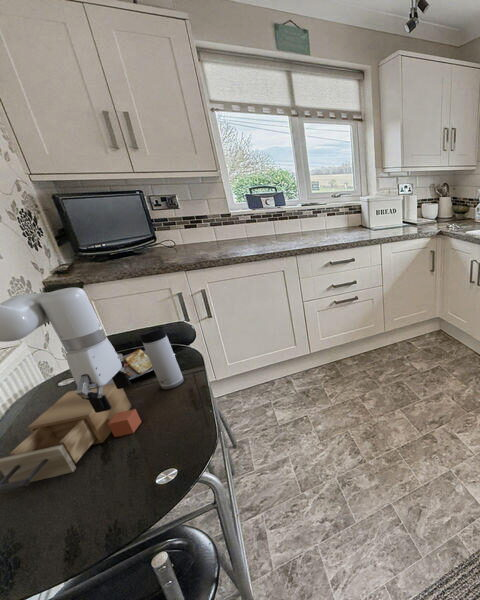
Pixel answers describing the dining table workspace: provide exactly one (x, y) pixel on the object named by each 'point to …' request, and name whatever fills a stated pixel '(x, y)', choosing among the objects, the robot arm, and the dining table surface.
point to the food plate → (135, 364)
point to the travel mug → (162, 357)
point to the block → (124, 423)
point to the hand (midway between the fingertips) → (114, 398)
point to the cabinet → (85, 411)
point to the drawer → (46, 453)
